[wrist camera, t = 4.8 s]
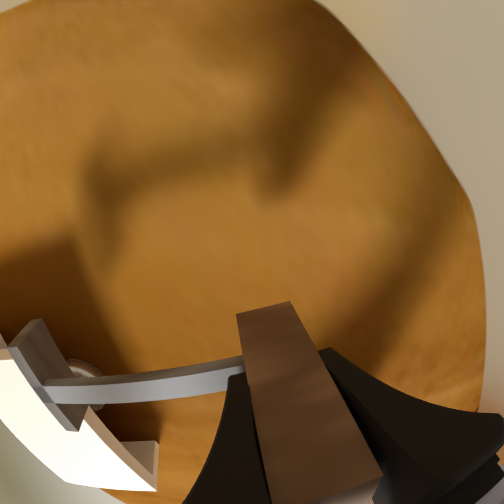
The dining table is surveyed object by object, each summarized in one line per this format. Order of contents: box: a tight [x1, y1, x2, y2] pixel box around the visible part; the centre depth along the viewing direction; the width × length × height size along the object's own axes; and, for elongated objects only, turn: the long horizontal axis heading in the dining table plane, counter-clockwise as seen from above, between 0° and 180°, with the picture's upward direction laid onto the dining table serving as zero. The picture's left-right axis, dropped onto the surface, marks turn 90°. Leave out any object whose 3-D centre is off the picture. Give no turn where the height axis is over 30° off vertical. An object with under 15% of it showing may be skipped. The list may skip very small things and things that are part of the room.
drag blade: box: [6, 301, 383, 504], centre depth 8 cm, size 14×6×9 cm, turn 101°
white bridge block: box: [0, 333, 159, 491], centre depth 17 cm, size 12×18×6 cm, turn 11°
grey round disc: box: [66, 358, 105, 411], centre depth 19 cm, size 5×5×2 cm
